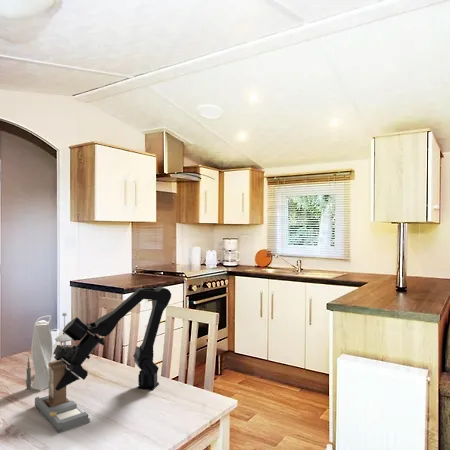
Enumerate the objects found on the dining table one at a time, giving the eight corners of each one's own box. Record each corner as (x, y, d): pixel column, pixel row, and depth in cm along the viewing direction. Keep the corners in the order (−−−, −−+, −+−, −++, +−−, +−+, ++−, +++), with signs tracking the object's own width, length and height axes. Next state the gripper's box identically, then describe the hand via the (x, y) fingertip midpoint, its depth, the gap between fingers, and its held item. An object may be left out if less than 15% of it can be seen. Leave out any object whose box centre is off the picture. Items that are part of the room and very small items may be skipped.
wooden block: (45, 404, 138) (45, 363, 138) (63, 399, 142) (62, 359, 142) (51, 410, 133) (51, 367, 133) (69, 405, 137) (68, 363, 137)
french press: (53, 374, 168) (53, 316, 168) (51, 366, 179) (51, 311, 179) (78, 370, 173) (77, 313, 173) (74, 362, 183) (74, 308, 183)
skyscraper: (43, 382, 161) (42, 313, 161) (57, 385, 157) (57, 315, 157) (25, 390, 153) (24, 318, 153) (39, 394, 150) (39, 320, 150)
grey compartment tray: (33, 406, 139) (33, 396, 139) (63, 397, 145) (63, 388, 145) (56, 433, 121) (56, 421, 121) (89, 422, 127) (89, 410, 127)
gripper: (59, 330, 147) (27, 367, 140) (78, 341, 133) (44, 383, 126) (80, 347, 152) (50, 383, 145) (100, 359, 138) (69, 400, 131)
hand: (53, 387), depth 137 cm, fingers closed on wooden block, 6 cm apart
